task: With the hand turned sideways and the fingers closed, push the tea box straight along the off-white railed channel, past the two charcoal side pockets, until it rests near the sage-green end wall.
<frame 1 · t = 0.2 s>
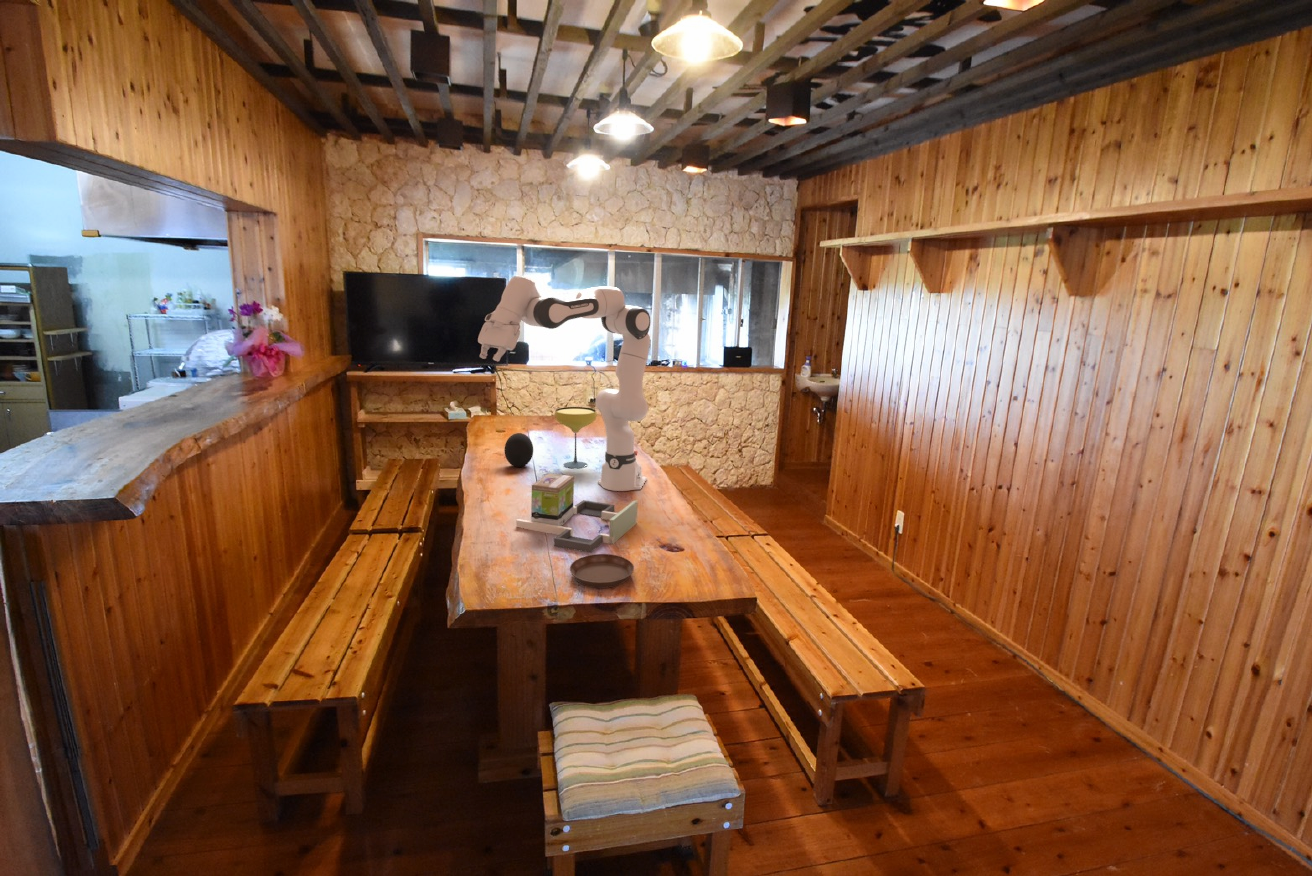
hand: (488, 359, 209), 54 cm above the table, tool tilted 30°, fingers open, 8 cm apart
plant saucer: (601, 577, 177), on the table
tea box: (552, 521, 217), on the table
cocktail glass: (575, 465, 285), on the table
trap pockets: (566, 523, 215), on the table
channel: (566, 523, 215), on the table
decorative egg: (519, 467, 280), on the table
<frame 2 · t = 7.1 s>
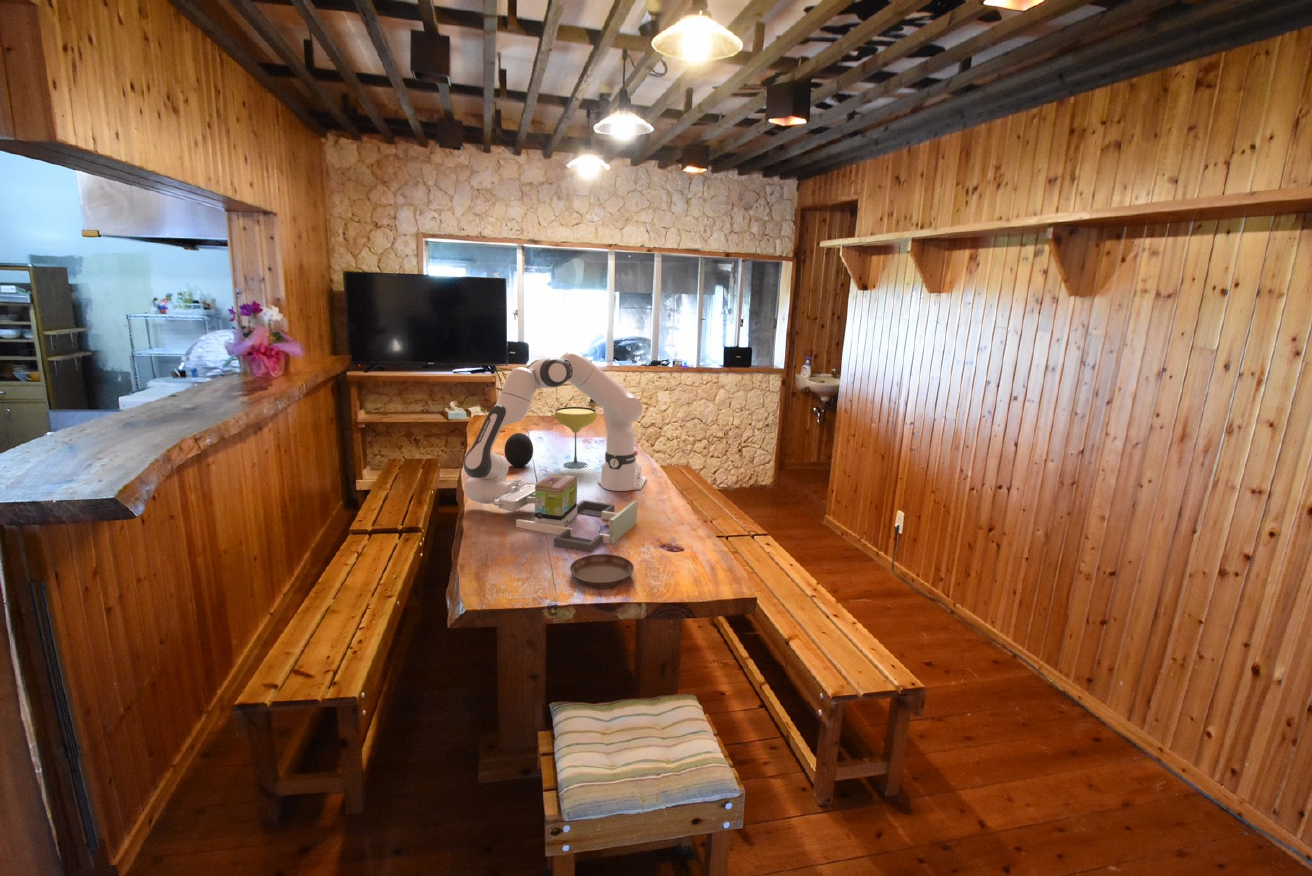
hand: (542, 500, 217), 7 cm above the table, tool horizontal, fingers closed
tea box: (556, 522, 216), on the table, touching gripper
everything else where it was.
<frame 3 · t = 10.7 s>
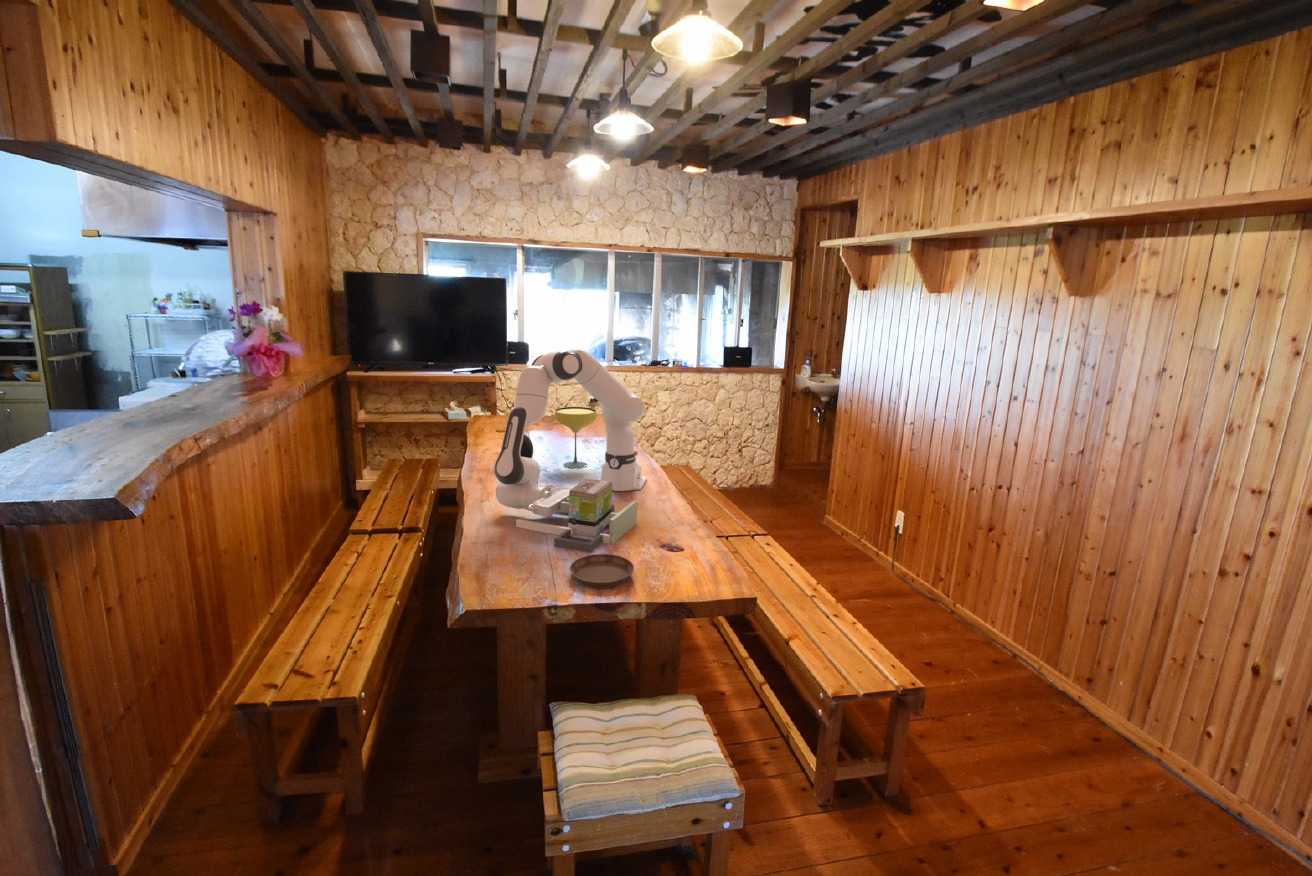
hand: (576, 505, 212), 7 cm above the table, tool horizontal, fingers closed
tea box: (590, 528, 212), on the table
everything else where it was.
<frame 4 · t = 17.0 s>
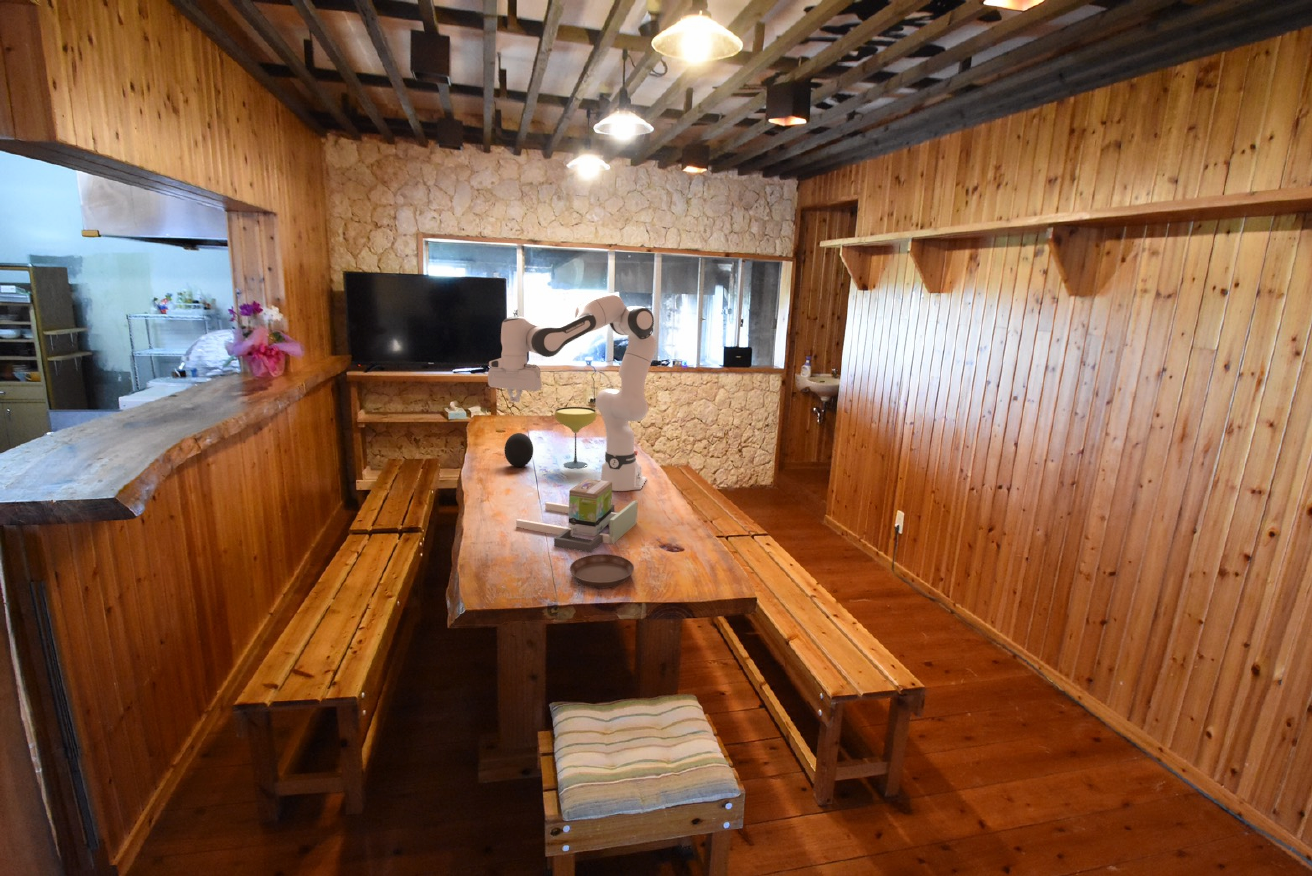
hand: (515, 401, 229), 37 cm above the table, tool pointing down, fingers closed
nothing on the table moved.
at the end: tea box inside the target area (4.5 cm from its centre), on the table; tea box tilted 0°; tea box touching table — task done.
